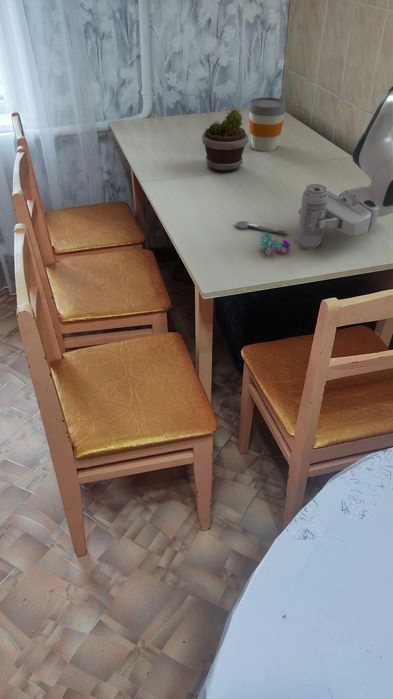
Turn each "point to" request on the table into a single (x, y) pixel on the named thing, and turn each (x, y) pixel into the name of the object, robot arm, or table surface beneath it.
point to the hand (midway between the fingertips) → (309, 218)
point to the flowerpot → (225, 143)
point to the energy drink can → (312, 216)
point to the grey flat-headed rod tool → (258, 227)
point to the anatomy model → (268, 249)
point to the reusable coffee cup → (265, 122)
